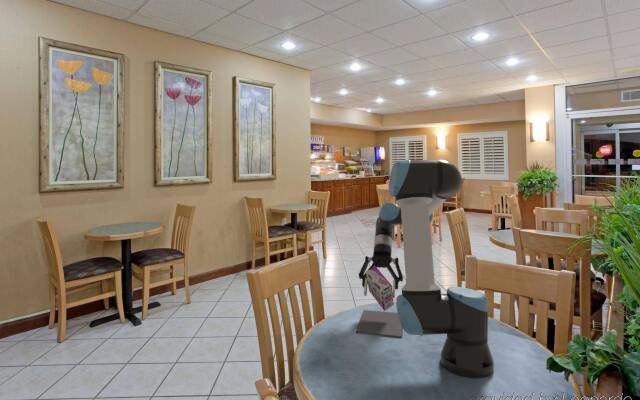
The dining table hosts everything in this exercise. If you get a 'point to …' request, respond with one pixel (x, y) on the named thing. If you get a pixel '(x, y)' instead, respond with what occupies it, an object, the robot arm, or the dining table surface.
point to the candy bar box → (380, 288)
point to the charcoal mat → (380, 324)
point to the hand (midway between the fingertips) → (379, 295)
